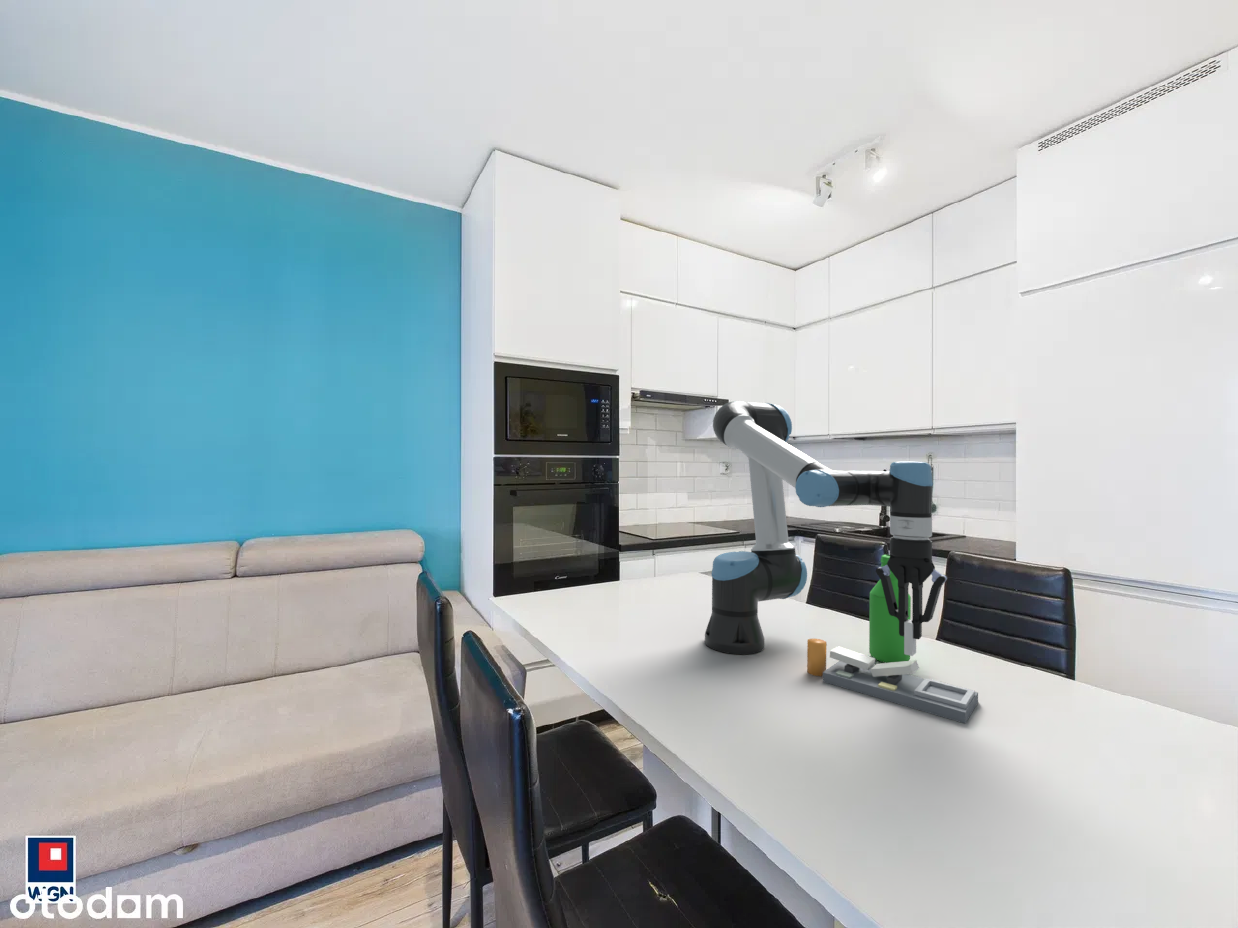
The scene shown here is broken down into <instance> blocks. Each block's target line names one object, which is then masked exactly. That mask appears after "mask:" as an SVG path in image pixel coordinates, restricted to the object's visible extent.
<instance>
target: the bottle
mask: <svg viewBox="0 0 1238 928" xmlns="http://www.w3.org/2000/svg"><path fill="white" fill-rule="evenodd" d="M889 558H890V554H882V555H881V558H880V563H881V564H880V567H883V566H885V565H887V562H888V560H889ZM889 576H890V578H891V582H892V586H893V590H894V594H895V598H896V602H897V606H898V580H897V578H896V577H895V576H894V574H893V573H892V571H891V570H890V575H889ZM911 602H912V598H911V594H909V592H908V616H909V617H908V618H907V620H908V619H909V620H912V617H911V616H912V613H911V612H912V610H911V607H912V606H911V605H912V603H911ZM868 620H869V624H868V627H869V629H868V630H869V631H868V635H869V636H868V637H869V639H868V641H869V642H868V643H869V645H868V646H869V647H868V648H869V650H868V651H869V654H870V656H871V657H873V658H875V661H879V662H881V663H891V662H902V661H911V660H910V659H911V656H910V655H906V654H904V636H900V634H899V620H898V618H896V617H894V616H891V615H890V614H889V611H888V607H887V603H886V599H885V595H884V591H883V587H882V583H881V579H880V578H879V580H878V581H877V583H876V584H875V585H874V587H872V589H871V590H870V591H869V619H868Z"/></svg>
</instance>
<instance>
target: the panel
mask: <svg viewBox="0 0 1238 928" xmlns="http://www.w3.org/2000/svg"><path fill="white" fill-rule="evenodd" d="M874 666H875V665H874ZM874 666H873V667H874ZM873 667H872V668H873ZM870 669H871V668H870ZM870 669H869V670H868V671H867V670H864V669H861V668H858V667H856V666H853V665H850V664H847V663H844V662H842V661H839V660H838V661H837V662H835V663H834V664H833V665H831V666H830V667H828V668H826V670H825V671H824V672H823V676H822V682H823V683H826V684H830V685H833V686H836V687H841V688H843V689H847V690H851V691H854V692H857V693H860V694H864V695H867V696H870V697H874V698H877V699H881V700H885V701H887V702H891V703H893V704H894V703H895V704H898V705H901V706H905V707H908V708H911V709H913V710H919V711H922V712H925V713H927V714H931V715H935V716H938V717H940V718H941V717H942V718H944V719H949V720H952V721H956V722H959V723H962V724H966V723H967V721H968V719H969V718H970V717H971V715H972V713H973V711H974V710H975V709H976V707H977V706H978V703H979V691H976V690H974V689H970V688H967V687H962V686H958V685H955V684H950V683H946V682H942V681H939V680H935V679H932V678H927V677H926V678H923V677H920V676H916V675H914V674H903V675H889V676H876V677H873V675H872V673H871V670H870Z"/></svg>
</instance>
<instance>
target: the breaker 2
mask: <svg viewBox="0 0 1238 928" xmlns="http://www.w3.org/2000/svg"><path fill="white" fill-rule="evenodd" d="M917 661H918V660H916V659H915V660H914V659H913V660H909V661H902V662H891V663H884V662H881V663H875V665H874V667H873V668H871V669H870V670H871V673H872V675H873V677H876V676H889V675H903V674H909V675H914V673H915V672H916V671H918V669H920V666H919V663H918V662H917Z"/></svg>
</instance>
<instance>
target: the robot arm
mask: <svg viewBox="0 0 1238 928" xmlns="http://www.w3.org/2000/svg"><path fill="white" fill-rule="evenodd" d="M712 420H713V421H712V429H713V432H714V434H715V436H716V437H717V439H718V440H719V441H720V442H721V443H723V444H724V445H725V446H727V447H729V449H732V450H739V451H741V452H742V454H744V455H745V456H746V457H747V458H748V468H749V479H750V489H751V490H750V491H751V501H752V509H753V510H752V511H753V521H754V522H753V523H754V524H753V525H754V533H755V544H754V545H753V547H752V548H751V549H750V551H745V550H744V551H743V550H741V551H729V552H723V553H721V554H719V555H717V556H716V557H714V558H713V561H712V569H711V577H712V579H711V580H712V581H711V583H712V585H711V615H710V617H709V620H708V623H707V626H706V629H705V632H704V644H705V645H706V646H707V647H708V648H709V649H712V650H714V651H718V652H721V653H726V654H734V655H748V654H749V655H751V654H755V653H760V652H761V651H764V649H765V636H764V632H763V629H762V626H761V623H760V620H759V614H758V613H759V610H758V607H759V605H758V602H766V601H773V600H779V599H780V600H786V599H788V598H792V597H795V596H798V595H799V594H800V593H801V592H802V590H803V589H804V588H805V587H806V583H807V582H808V581H807V580H808V571H807V570H808V569H807V566H806V563H805V561H803V558H802V557H801V556H800V555H798V554H797V553H796V547H795V546H794V545H793V544H792V543H791V542H790V541H789V533H788V532H789V531H788V523H787V514H786V513H787V511H786V503H785V492H784V483H783V481H784V482H785V483H787V484H788V485H790V486H792V487H793V488H794V489H795V493H796V496H797V498H798V499H799V501H800V502H801V504H804V505H806V506H807V507H808V506H809V507H816V508H826V507H841V506H845V507H846V506H847V507H848V506H850V507H851V506H876V507H877V506H878V507H889V534H890V535H891V537H890V538H889V555H890V558H889V560H888V562H887V565H885V566H883V567H881V566H879V567H878V568H876V569H875V573H876V574H877V576H878V578H879V580H880V579H881V583H882V587H883V591H884V595H885V599H886V603H887V607H888V611H889V614H890V615H891V616H894V617H896V618H898V620H899V634H900V636H904V654H906V655H910V657H913V656H914V655H915V654H916V653H917V640H920V639H921V638H922V636H923V634H922V633H923V632H922V631H923V629H922V628H923V627H922V625H923V623H929V622H930V621H931V620H933V617H934V614H935V610H936V607H937V603H938V600H939V597H940V593H941V590H942V587H943V585H944V584H945V583H946V581H947V580H948V577H949V576H948V575H947V574H942V573H940V571H938V570H936V567H935V564H934V562H933V541H932V539H930V538H931V537H933V517H932V516H933V515H932V514H933V513H932V505H933V504H932V503H933V502H932V501H933V485H934V482H933V477H932V476H933V475H932V466H931V464H930V463H928V462H926V461H893V462H891V463H890V464H889V470H888V471H887V470H886V471H880V470H879V471H878V470H833V469H831V468H829V467H827V466H825V465H823V464H821V463H820V462H819V461H817V460H815V459H814V458H812V457H811V456H809V455H807V454H806V453H804V452H802V451H801V450H799V449H797V448H796V447H794V446H792V445H791V444H789V443H787V442H788V440H789V439H790V435H792V431H793V426H792V425H793V424H792V419H791V416H790V415H789V412H788V411H787V410H786V409H784V408H783V407H782V406H781V405H778V404H774V403H771V402H765V403H764V402H755V401H754V402H751V401H742V400H734V401H729V402H726V403H725V404H723V405H721V406H720V407H719V408H718V409H717V411H716V412H715V414H714V416H713V419H712ZM890 570H891V571H892V573H893V574H894V576H895V577H896V578H897V580H898V606H897V602H896V598H895V594H894V590H893V586H892V582H891V578H890V576H889V575H890ZM930 576H931V581H932V585H931V588H930V592H929V594H928V598H927V602H926V605H925V608H924V612H923V589H924V583H925V581H927V580H928V579H929V577H930ZM910 584H911V589H912V591H911V593H912V598H911V602H912V603H911V605H912V606H911V607H912V610H911V612H912V613H911V616H912V617H911V620H909V619H908V620H907V618H908V617H909V616H908V593H909V585H910Z"/></svg>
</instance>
